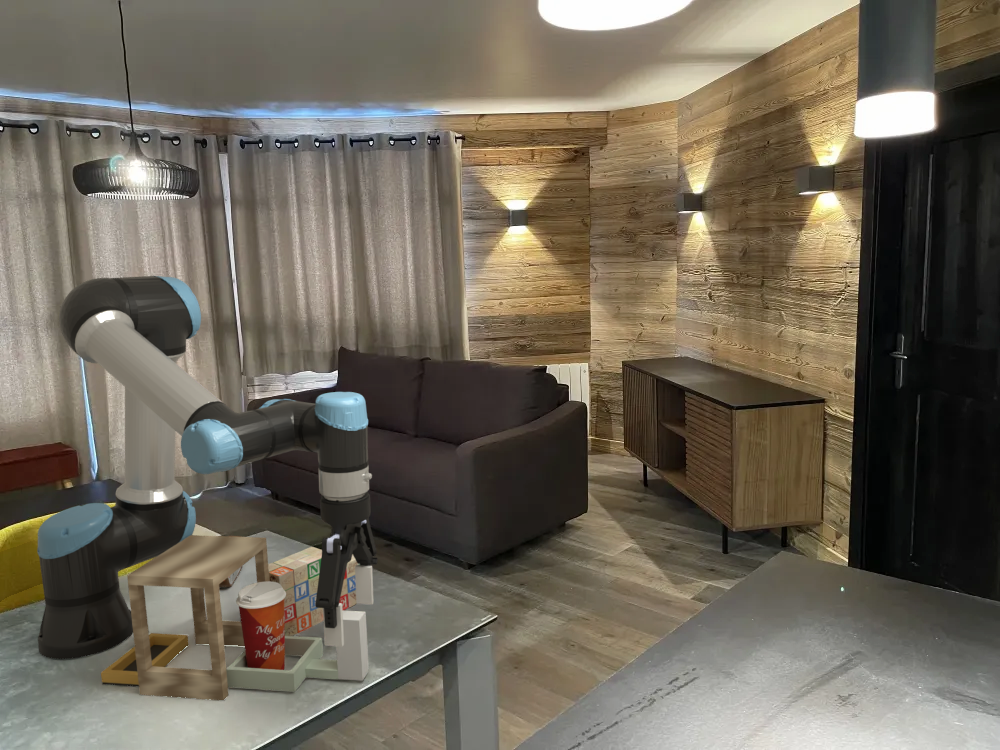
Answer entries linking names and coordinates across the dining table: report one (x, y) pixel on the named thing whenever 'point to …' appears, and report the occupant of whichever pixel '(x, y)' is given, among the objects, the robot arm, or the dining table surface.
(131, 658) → the pit trap
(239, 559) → the oak tunnel
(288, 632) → the stack of blocks
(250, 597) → the paper cup
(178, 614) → the dining table surface
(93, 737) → the dining table surface
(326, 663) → the collar
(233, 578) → the tin
